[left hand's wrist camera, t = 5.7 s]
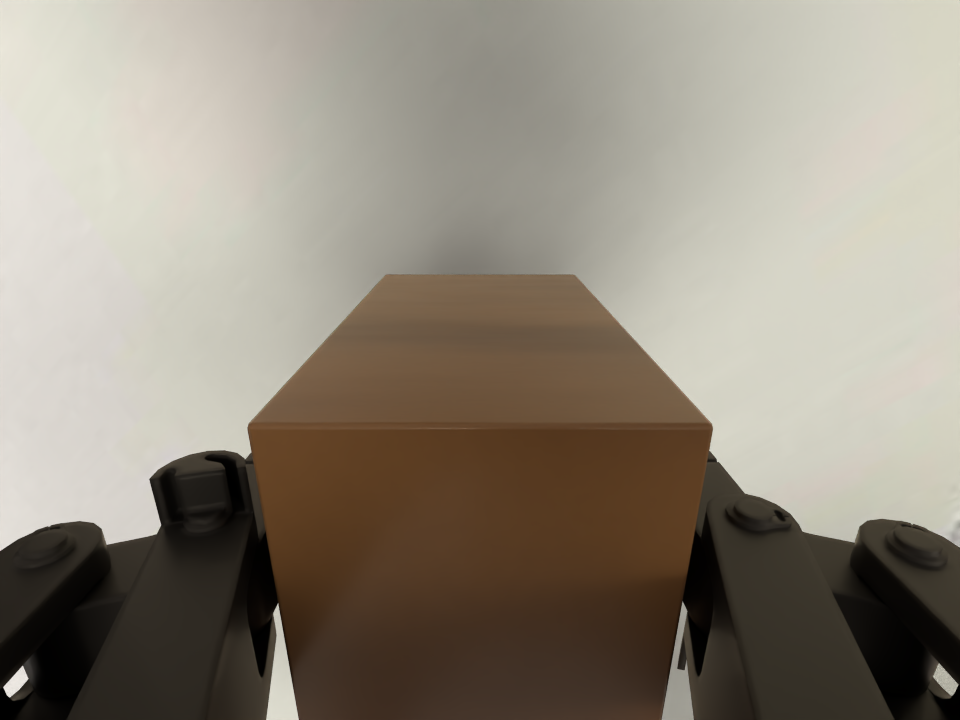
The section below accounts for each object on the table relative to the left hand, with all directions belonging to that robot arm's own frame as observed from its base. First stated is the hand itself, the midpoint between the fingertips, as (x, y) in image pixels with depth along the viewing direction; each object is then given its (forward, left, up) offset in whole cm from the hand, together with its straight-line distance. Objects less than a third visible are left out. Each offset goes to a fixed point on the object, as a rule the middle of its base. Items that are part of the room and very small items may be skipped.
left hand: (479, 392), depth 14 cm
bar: (+8, +2, -1) cm, 8 cm away
